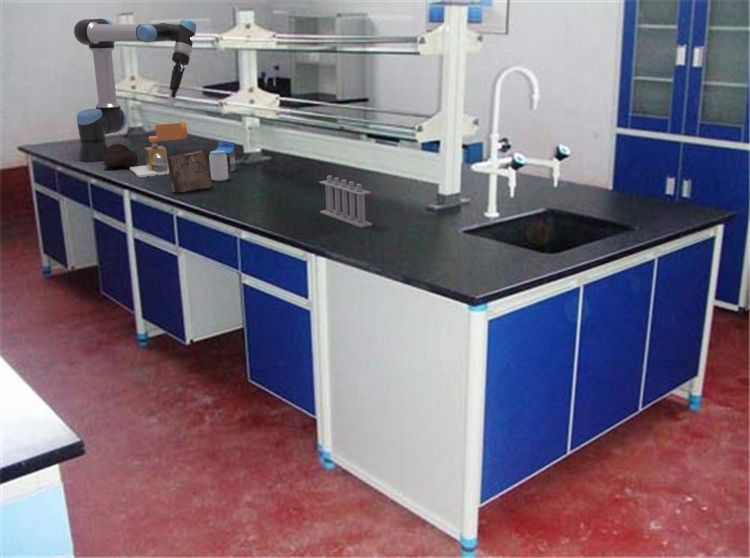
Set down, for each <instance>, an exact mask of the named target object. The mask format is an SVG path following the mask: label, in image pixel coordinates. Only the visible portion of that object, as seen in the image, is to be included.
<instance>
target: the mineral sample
mask: <svg viewBox="0 0 750 558" xmlns="http://www.w3.org/2000/svg"><path fill="white" fill-rule="evenodd" d="M167 163H168V169H169V174H168V175H169V178H170V180H169V181H170V184H171V185H170V186H171V190H172V193H173V192H178V193H177V194H180V193H179V192H183V193H187V192H186V191H189V192H192V191H191V190H193V191H197V190H196V189H200V190H205V189H204V188H209V189H210V188H211V187H212V186H213V184H212V181H211V179H210V178H211V177H210V172H209V169H208V161H207V158H206V155H205V152H204V151H203V149H195V150H191V151H186V152H183V153H178V154H175V155H170V156H167Z"/></svg>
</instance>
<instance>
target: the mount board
mask: <svg viewBox="0 0 750 558" xmlns="http://www.w3.org/2000/svg"><path fill="white" fill-rule="evenodd" d="M129 170H130V171H131V172H132V171H133V172H134V173H135V174H136V177H137V178H139V177H140V178H147V176H149V177H156V175H158V176H166V175H170V174H169V169H167V170H168V171H161V172H155V170H151V171H150V170H149V169H148V168H147V167H146V164H144V165H139V166H138V165H135V166H129ZM133 172H132V173H133ZM134 173H133V174H134ZM135 174H134V175H135ZM165 174H166V175H165Z"/></svg>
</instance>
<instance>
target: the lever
mask: <svg viewBox="0 0 750 558" xmlns="http://www.w3.org/2000/svg"><path fill="white" fill-rule="evenodd" d="M155 134H156V135H152V136H151V135H150V136H148V142H149V143H152V142H157V143H158V142H162V141H163V142H165V141H173V140H182V139H183V140H186V139H188V137H189V136H188V127H187V122H186V121H182V122H171V123H162V124H161V123H159V124H155Z"/></svg>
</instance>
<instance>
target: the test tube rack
mask: <svg viewBox="0 0 750 558" xmlns="http://www.w3.org/2000/svg"><path fill="white" fill-rule="evenodd" d="M318 183H319V184H322V185H324V186H325V187H324V188H325V201H326V202H325V206H326V208H325V210H324V209H323V210H320V211H319V213H320V214H321V215H322V214H323V215H325V216H327V217H331V218H334V219H336V220H340V221H341V222H345V223H348V224H351V225H353V226H356V227H358V228H361V229H362V228H365V227H366V228H367V227H371V226H373V222H369V221H367V220H366V204H365V201H366V200H365V196H366V195H369V194H372V191H370V190H366V189H363V188H362V187H363V186H362V183H356V187H355V183H354V181H349V182H348V184H347V179H341V181H340V179H339V177H333V175H327V176H326V180H321V181H318ZM333 188H334V190H333ZM340 190H341V191H340ZM355 195H356V197H355ZM348 197H349V198H348ZM355 198H356V200H355ZM348 200H349V208H348ZM355 202H356V203H355ZM334 204H335V205H334ZM334 207H335V209H334ZM341 207H342V211H341ZM356 210H357V211H356ZM356 212H357V213H356ZM348 213H349V214H348ZM356 215H357V217H356Z"/></svg>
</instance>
